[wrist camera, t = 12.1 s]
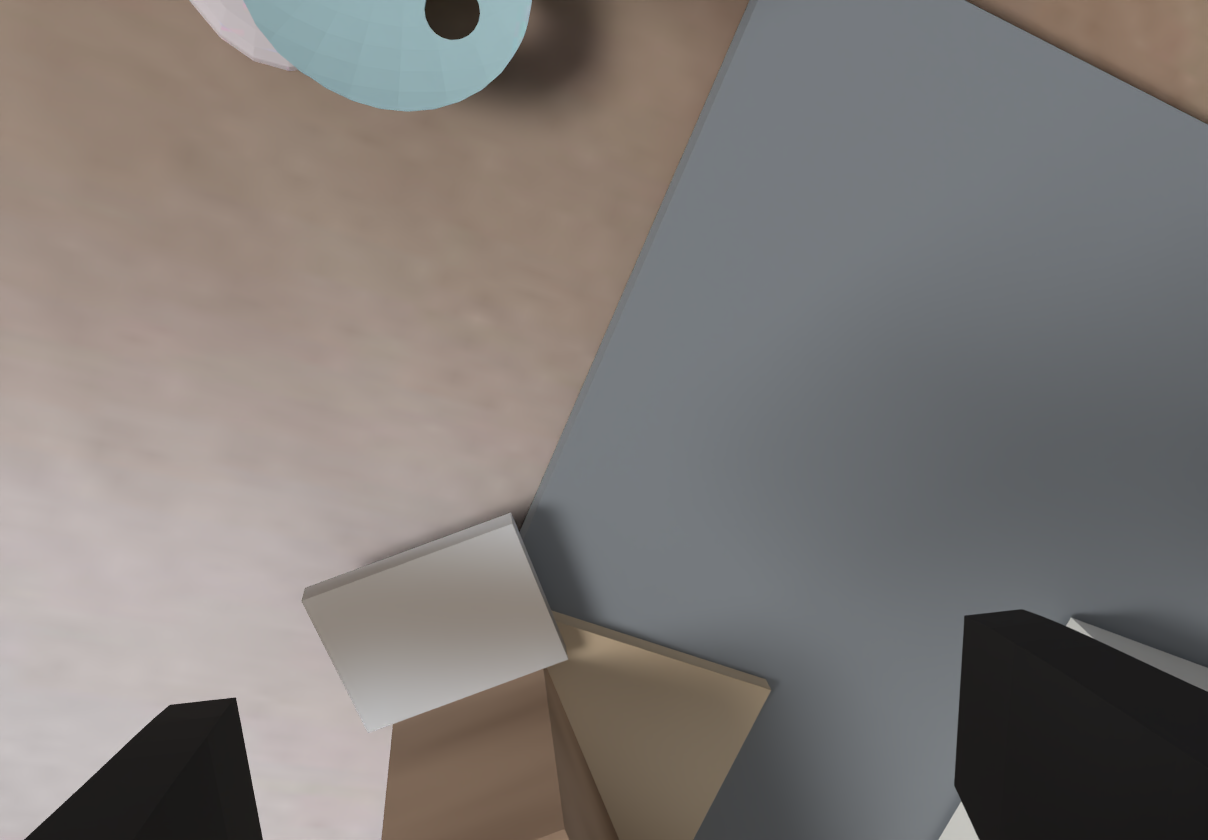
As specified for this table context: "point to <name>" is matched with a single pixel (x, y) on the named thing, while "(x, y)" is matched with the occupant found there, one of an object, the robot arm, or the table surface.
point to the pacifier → (373, 46)
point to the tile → (959, 830)
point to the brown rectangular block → (462, 690)
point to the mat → (894, 395)
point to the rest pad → (653, 726)
